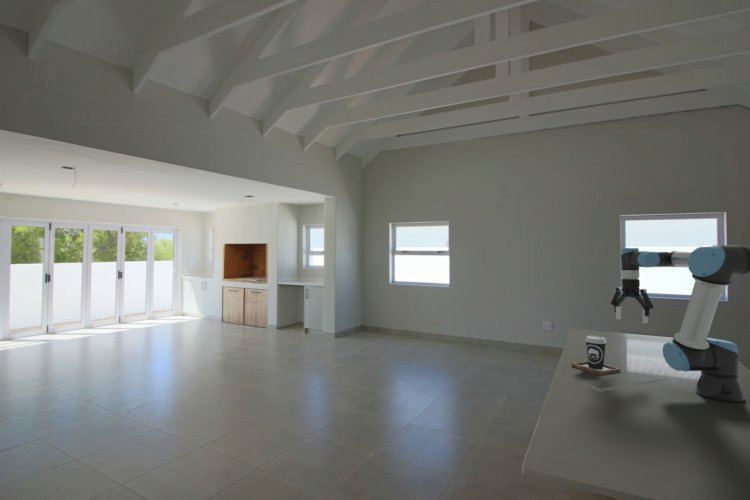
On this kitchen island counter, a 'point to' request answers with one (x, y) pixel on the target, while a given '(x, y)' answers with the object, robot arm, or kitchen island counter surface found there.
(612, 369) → the tray
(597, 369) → the saucer
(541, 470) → the kitchen island counter surface
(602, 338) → the coffee cup
